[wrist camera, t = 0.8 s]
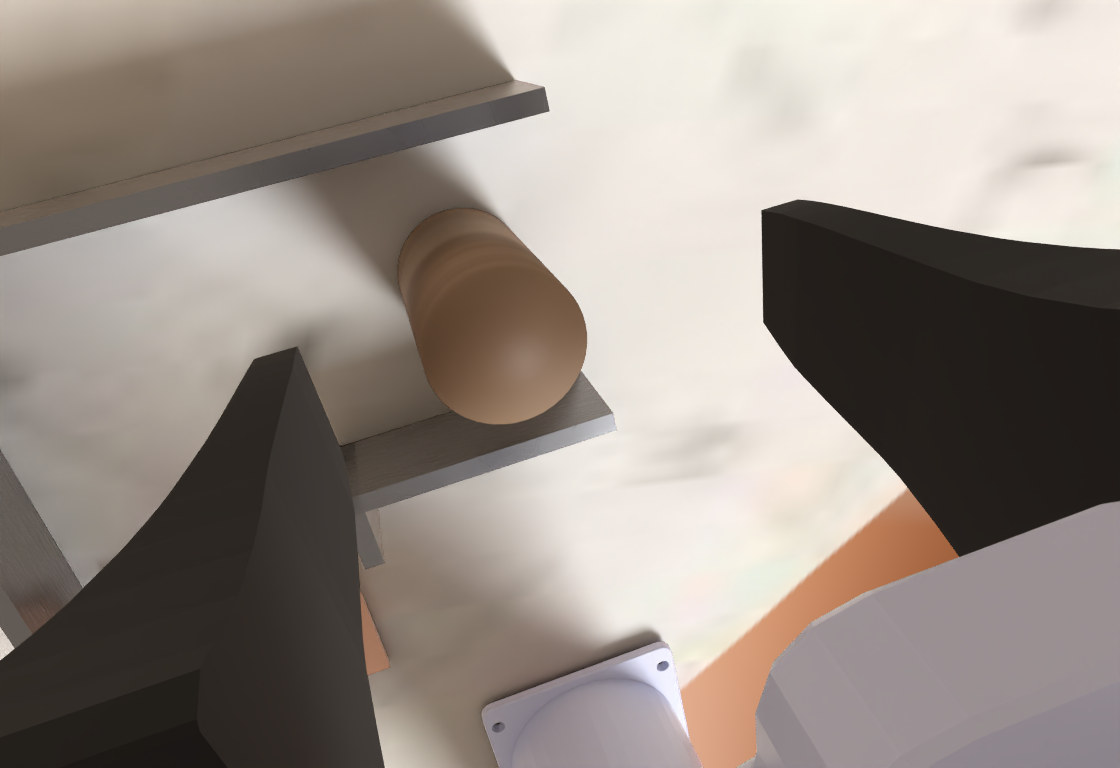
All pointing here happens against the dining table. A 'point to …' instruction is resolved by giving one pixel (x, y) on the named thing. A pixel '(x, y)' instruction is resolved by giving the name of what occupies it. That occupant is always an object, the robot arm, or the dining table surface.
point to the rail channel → (372, 464)
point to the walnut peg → (488, 318)
